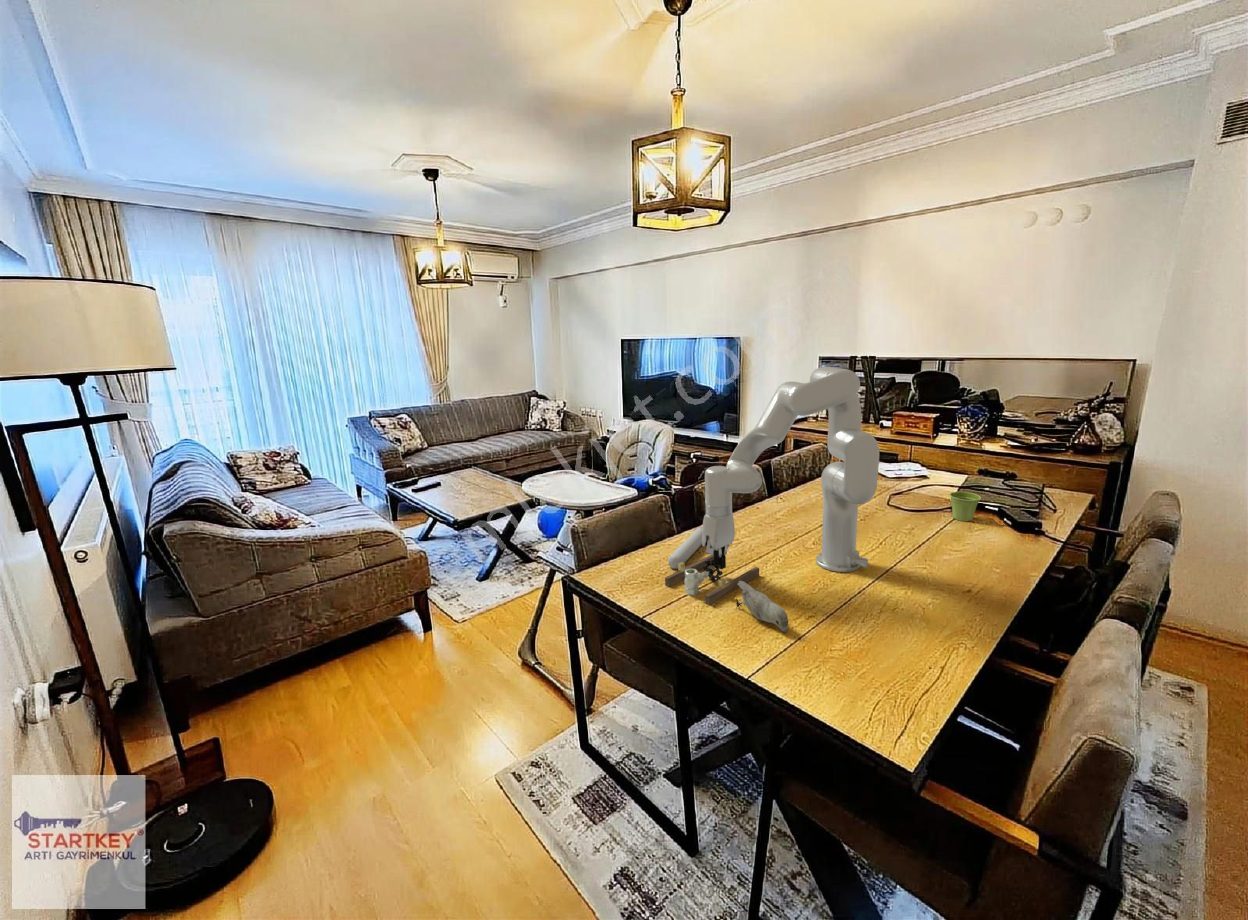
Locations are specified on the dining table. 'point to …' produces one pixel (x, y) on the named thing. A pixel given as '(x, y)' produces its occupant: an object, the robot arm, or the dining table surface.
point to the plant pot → (964, 505)
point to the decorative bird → (763, 607)
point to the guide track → (723, 586)
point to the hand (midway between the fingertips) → (719, 567)
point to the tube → (686, 549)
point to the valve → (700, 577)
